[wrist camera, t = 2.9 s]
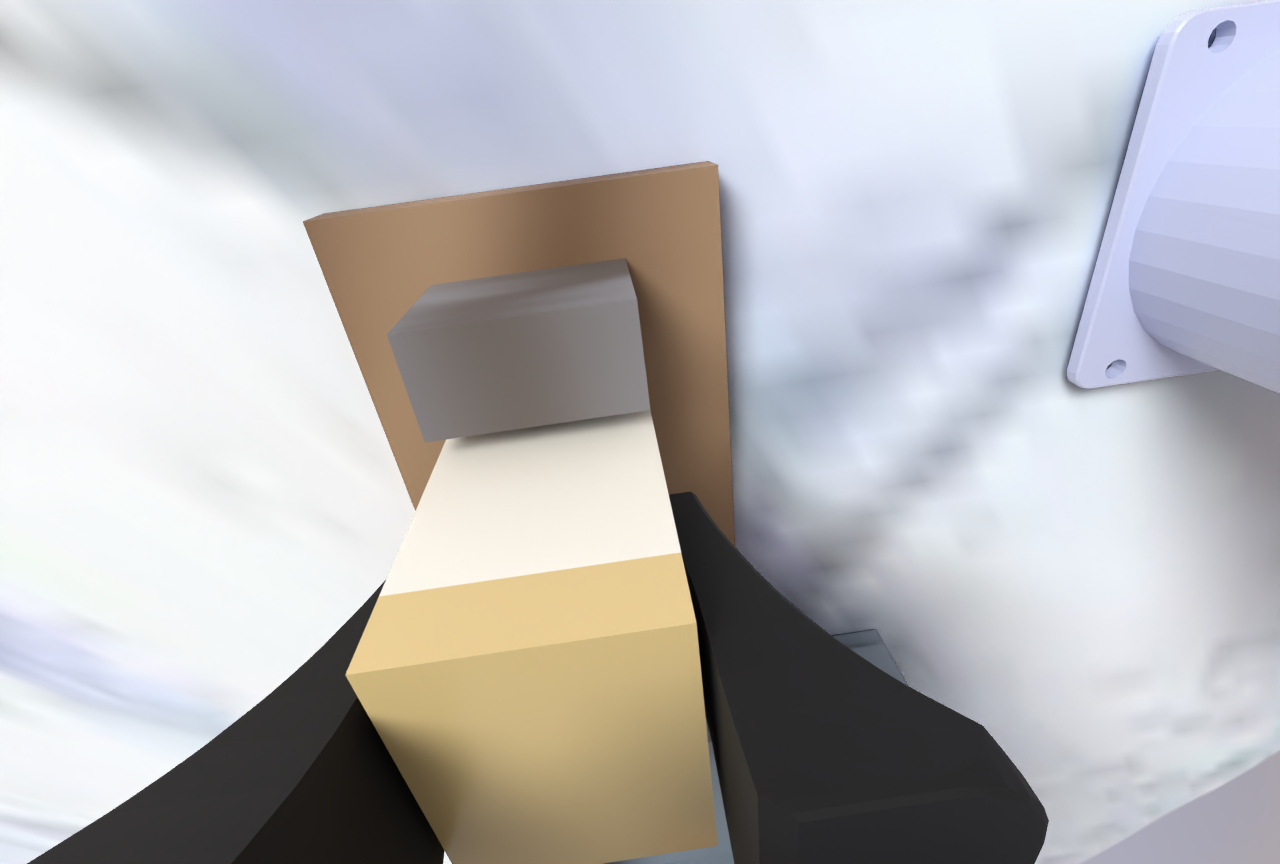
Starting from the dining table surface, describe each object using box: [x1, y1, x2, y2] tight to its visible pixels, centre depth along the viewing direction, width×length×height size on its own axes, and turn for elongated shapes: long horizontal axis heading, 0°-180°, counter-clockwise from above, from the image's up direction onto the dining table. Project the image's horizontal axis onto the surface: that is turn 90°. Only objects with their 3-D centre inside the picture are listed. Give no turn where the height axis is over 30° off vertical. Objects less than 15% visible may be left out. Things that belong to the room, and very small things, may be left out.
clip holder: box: [303, 161, 735, 547], centre depth 13 cm, size 8×13×4 cm, turn 7°
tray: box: [603, 630, 908, 864], centre depth 21 cm, size 12×13×3 cm
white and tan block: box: [346, 410, 718, 864], centre depth 10 cm, size 4×5×6 cm
